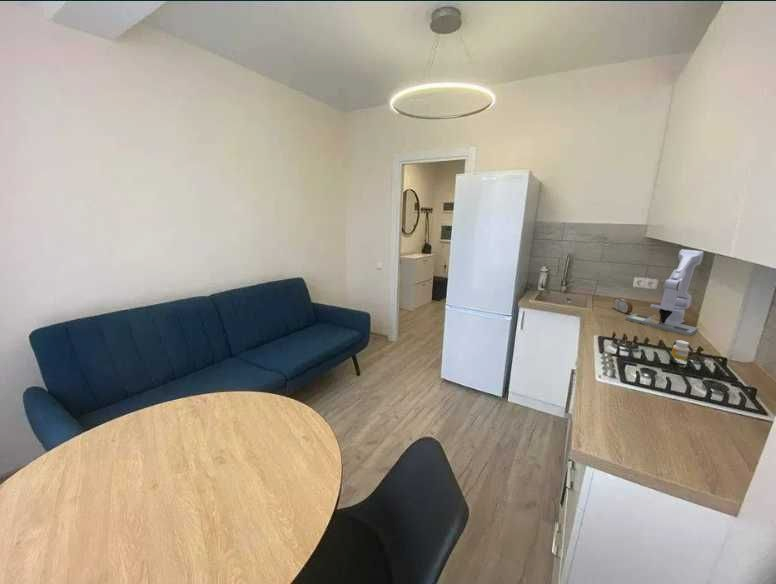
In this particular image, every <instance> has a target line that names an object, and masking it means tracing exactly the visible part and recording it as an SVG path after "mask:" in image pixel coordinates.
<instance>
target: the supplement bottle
mask: <svg viewBox="0 0 776 584" xmlns="http://www.w3.org/2000/svg"><path fill="white" fill-rule="evenodd" d="M675 342H676V343H675V344H674V345H672V347H671V352H670V355H672V356H673V357H675V358H677V359H682V360H684V359H687V360H688V356H689V352H690V347H689V345H690V344H689V343H690V342H687V341H685V340H681V339H680V340H679V339H677V340H676V341H675Z"/></svg>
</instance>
